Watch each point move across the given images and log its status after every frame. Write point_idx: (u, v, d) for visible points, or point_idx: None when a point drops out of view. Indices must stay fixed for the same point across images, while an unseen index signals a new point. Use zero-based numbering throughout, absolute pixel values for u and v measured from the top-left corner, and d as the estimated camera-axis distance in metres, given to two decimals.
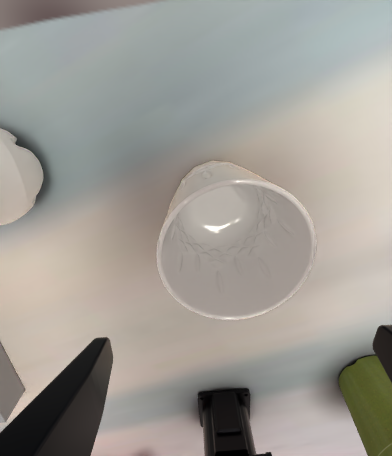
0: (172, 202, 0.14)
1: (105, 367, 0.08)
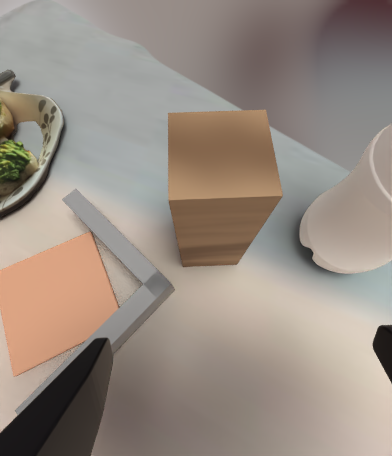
0: None
1: (105, 367, 0.08)
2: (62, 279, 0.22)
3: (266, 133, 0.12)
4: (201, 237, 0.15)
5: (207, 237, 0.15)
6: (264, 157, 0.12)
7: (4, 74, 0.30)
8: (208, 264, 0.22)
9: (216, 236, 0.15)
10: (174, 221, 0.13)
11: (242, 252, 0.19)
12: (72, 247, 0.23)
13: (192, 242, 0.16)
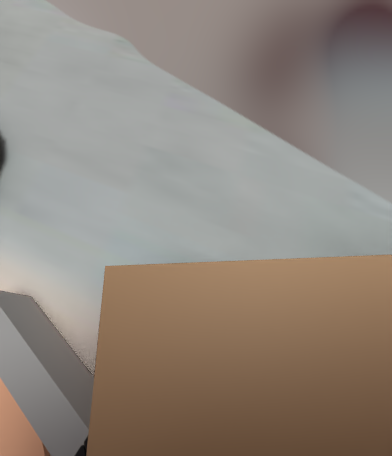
0: None
1: None
2: None
3: None
4: None
5: None
6: None
7: None
8: None
9: None
10: None
11: None
12: None
13: None
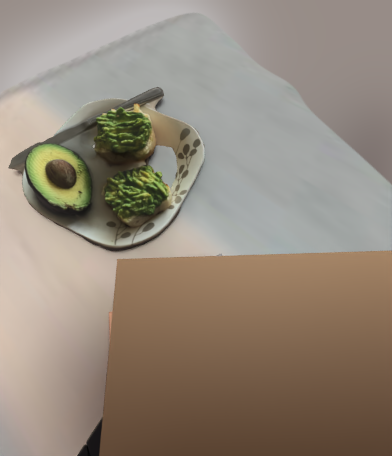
0: None
1: None
2: None
3: None
4: None
5: None
6: None
7: (154, 92, 0.29)
8: None
9: None
10: None
11: None
12: None
13: None
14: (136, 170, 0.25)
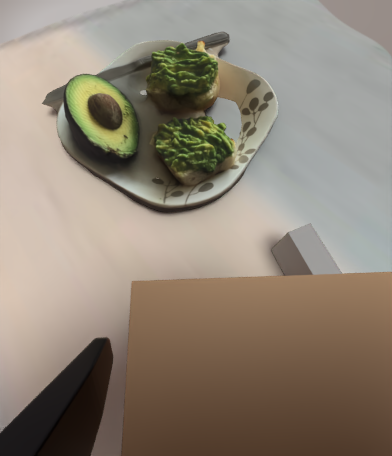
0: None
1: (105, 367, 0.08)
2: None
3: None
4: None
5: None
6: None
7: (218, 36, 0.24)
8: None
9: None
10: None
11: None
12: None
13: None
14: (194, 120, 0.20)
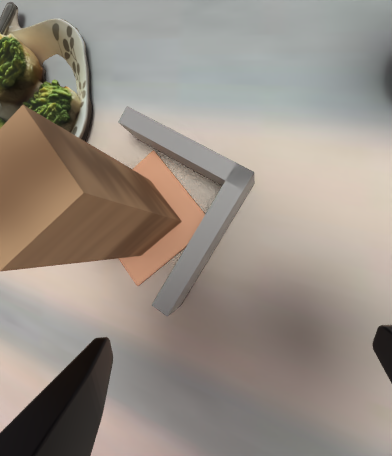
0: None
1: (105, 367, 0.08)
2: None
3: (37, 133, 0.10)
4: (100, 246, 0.15)
5: (104, 242, 0.15)
6: (48, 162, 0.10)
7: (6, 10, 0.27)
8: (157, 239, 0.22)
9: (111, 236, 0.15)
10: (47, 265, 0.13)
11: (163, 218, 0.18)
12: (142, 170, 0.23)
13: (102, 251, 0.16)
14: (37, 93, 0.26)
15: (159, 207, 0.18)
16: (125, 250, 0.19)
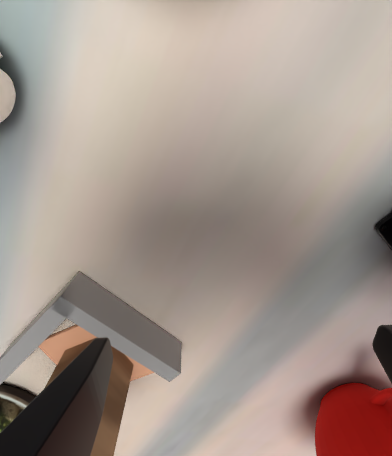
0: None
1: (105, 367, 0.08)
2: None
3: None
4: (101, 447, 0.18)
5: (98, 446, 0.18)
6: None
7: None
8: (120, 354, 0.25)
9: None
10: None
11: None
12: (55, 354, 0.25)
13: (109, 437, 0.19)
14: None
15: None
16: (118, 400, 0.22)
